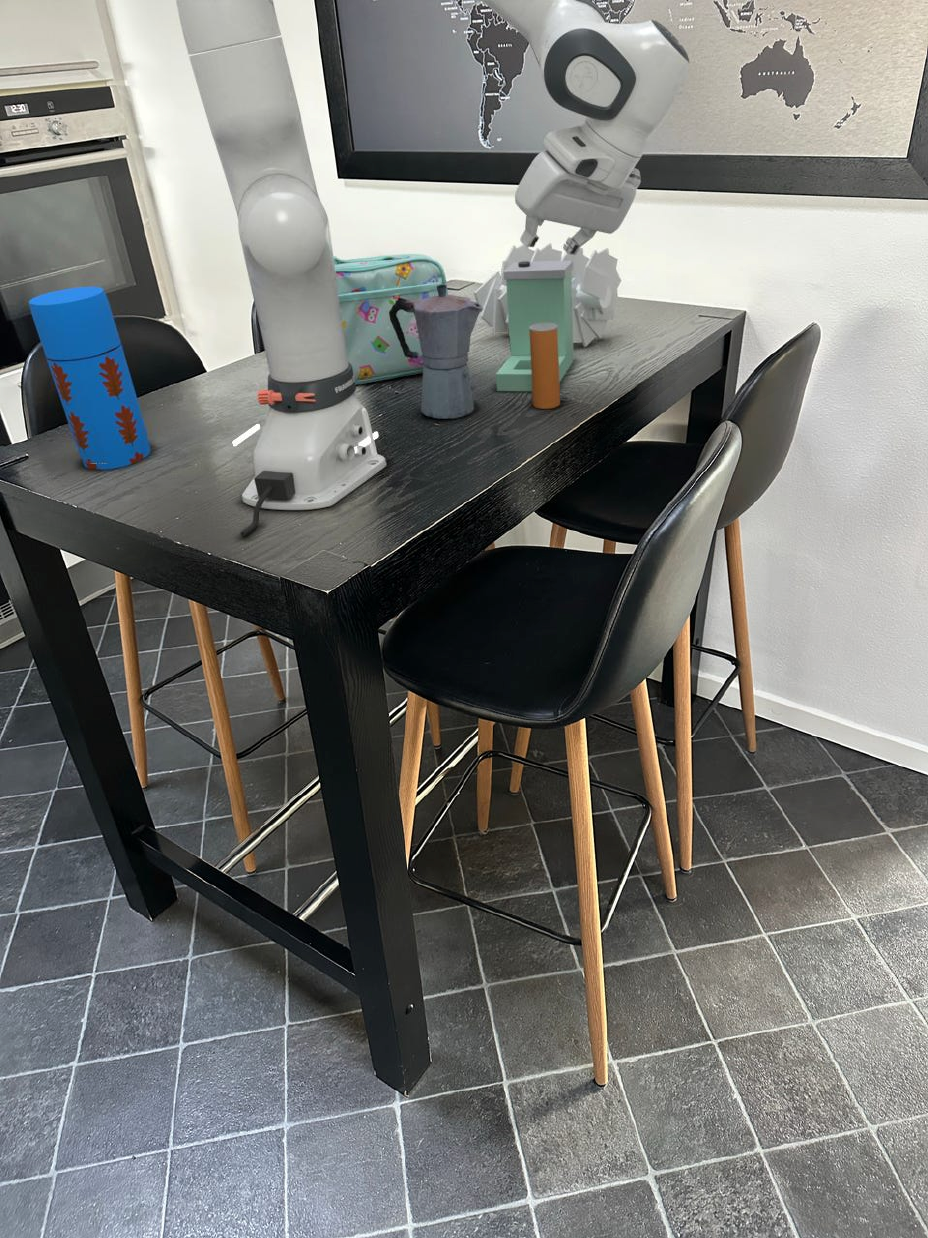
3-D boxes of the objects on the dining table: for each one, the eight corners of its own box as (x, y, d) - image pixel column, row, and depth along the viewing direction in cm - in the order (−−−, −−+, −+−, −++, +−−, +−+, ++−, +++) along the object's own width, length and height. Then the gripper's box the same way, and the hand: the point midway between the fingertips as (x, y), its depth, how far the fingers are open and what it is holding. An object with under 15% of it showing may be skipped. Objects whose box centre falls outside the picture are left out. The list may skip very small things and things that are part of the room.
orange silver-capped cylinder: (557, 409, 146) (554, 330, 139) (530, 408, 147) (526, 330, 140) (562, 399, 149) (560, 322, 142) (536, 399, 150) (532, 322, 144)
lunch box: (314, 394, 163) (291, 269, 152) (310, 377, 172) (288, 258, 160) (459, 371, 166) (447, 248, 155) (448, 356, 175) (436, 238, 164)
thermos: (112, 474, 139) (58, 307, 126) (68, 464, 144) (11, 303, 131) (165, 448, 146) (120, 287, 133) (121, 440, 152) (74, 284, 138)
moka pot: (486, 420, 144) (475, 290, 133) (392, 422, 147) (375, 294, 136) (496, 400, 152) (487, 275, 141) (407, 401, 155) (392, 279, 144)
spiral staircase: (517, 347, 190) (621, 355, 175) (464, 330, 176) (572, 337, 161) (532, 255, 186) (639, 255, 172) (479, 231, 173) (590, 229, 158)
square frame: (553, 391, 153) (553, 374, 151) (496, 391, 156) (495, 373, 154) (566, 372, 161) (565, 355, 159) (511, 372, 163) (510, 355, 162)
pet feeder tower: (567, 372, 160) (564, 265, 151) (509, 372, 164) (503, 267, 154) (575, 360, 166) (573, 256, 156) (519, 360, 169) (513, 258, 159)
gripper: (632, 158, 131) (580, 243, 140) (539, 129, 117) (487, 225, 126) (659, 184, 128) (604, 269, 137) (567, 157, 115) (512, 253, 123)
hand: (547, 248), depth 131 cm, fingers open, 8 cm apart
